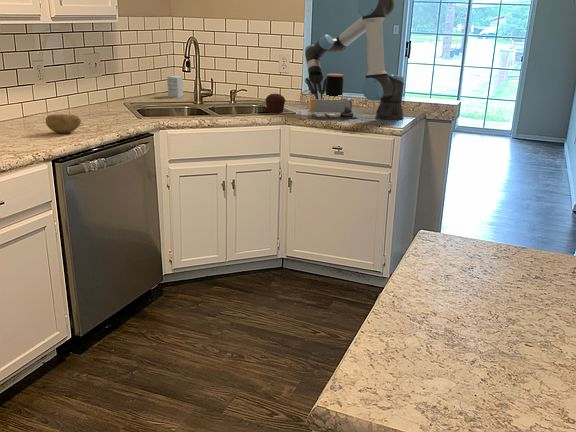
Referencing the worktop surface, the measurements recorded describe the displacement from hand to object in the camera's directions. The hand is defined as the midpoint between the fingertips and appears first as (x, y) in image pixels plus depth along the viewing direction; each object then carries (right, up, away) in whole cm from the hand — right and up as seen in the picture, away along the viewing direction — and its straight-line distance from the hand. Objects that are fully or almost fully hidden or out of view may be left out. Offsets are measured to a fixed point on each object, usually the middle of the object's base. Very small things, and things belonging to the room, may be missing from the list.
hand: (320, 103), depth 317 cm
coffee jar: (+11, +9, +49) cm, 51 cm away
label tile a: (+6, -8, -4) cm, 11 cm away
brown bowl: (-113, -26, -69) cm, 135 cm away
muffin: (-25, -3, +7) cm, 26 cm away
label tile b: (0, -8, -5) cm, 10 cm away
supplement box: (-90, +15, +53) cm, 105 cm away
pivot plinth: (+14, -8, -3) cm, 17 cm away
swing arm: (+6, -6, -5) cm, 9 cm away
